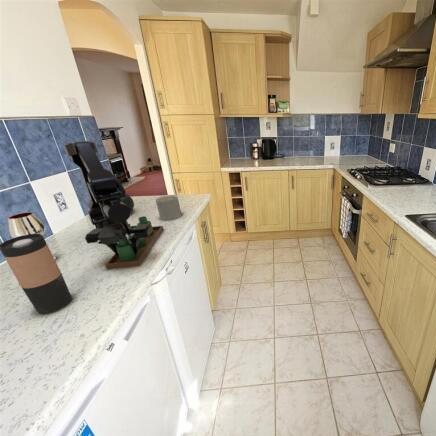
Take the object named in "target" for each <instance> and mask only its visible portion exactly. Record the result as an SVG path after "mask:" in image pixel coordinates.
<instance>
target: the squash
mask: <svg viewBox="0 0 436 436" xmlns="http://www.w3.org/2000/svg"><path fill="white" fill-rule="evenodd" d="M119 192H120V191H119V190H118V192H116V193H119ZM111 194H114V193H111ZM120 194H121V193H120ZM124 194H125V196H126V197H122V198H120V199H121V201H122V202H123V203H124V204H125V205H126V206H128V207H129V209H130V211H131V213H132V212H133V210H134V208H135V202H134V200H133V198H132V196H130V195H129V194H128V193H127V192H125V193H124Z"/></svg>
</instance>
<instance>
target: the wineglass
mask: <svg viewBox="0 0 436 436" xmlns="http://www.w3.org/2000/svg"><path fill="white" fill-rule="evenodd" d="M7 221H8V230H9V234H10V236H11V237H12V239H13V238H16V237H19V236H23V235H28V234H41V235H42V236H43V237H44V235H45V233H46V226H45V225H44V223H43V222H42V221H41V220H40V218H38V217H37V216H36V215H35V213H34V212H31V211H29V212H20V213H17V214H14V215H10V216H8V217H7ZM53 257H54V259H55V261H56V260H57V257H56V256H53Z"/></svg>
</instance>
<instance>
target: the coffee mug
mask: <svg viewBox="0 0 436 436" xmlns="http://www.w3.org/2000/svg"><path fill="white" fill-rule="evenodd" d="M155 203H156V208H157V211H158V216H159V218H160V220H161V221H172V220H176V219H179V218H181V216H182V210H181V206H180V201H179V197H178V195H176V194H165V195H160V196H158V197H156V198H155Z"/></svg>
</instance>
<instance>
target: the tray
mask: <svg viewBox="0 0 436 436" xmlns="http://www.w3.org/2000/svg"><path fill="white" fill-rule="evenodd" d="M152 228H153V232H154V234H153V235H152V236H150V237H146V238H145V241H146V245H145V246H144V247H142V248H139V249H138V252H137V258H136V259H134V260H133V261H126V262H121V260H120V257H119V256H117V255H116V254H115V253H114V254H113V255H112V256H111V257H110V258H109V260H108V261H106V263H105V265H104V266H105V268H106V270H115V269H123V268H131V267H140V266H141V265H142V263H143V262H144V260H145V258H146V257H147V256H148V253H149V252H150V251H151V249H152V247H154V245H155V243H156V241H157V240H158V239H159V238H160V236H161V234H162V232H163V231H164V230H165V229H164V226H163V225H156V226H152ZM128 241H129V238H128Z"/></svg>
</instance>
